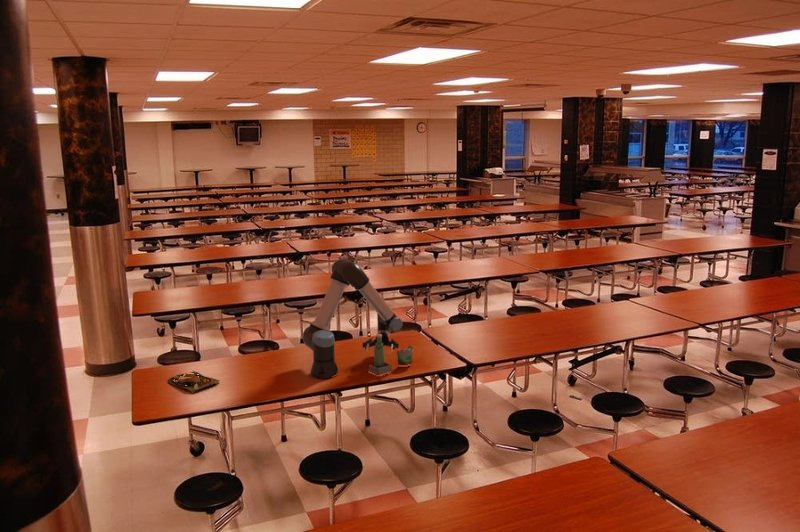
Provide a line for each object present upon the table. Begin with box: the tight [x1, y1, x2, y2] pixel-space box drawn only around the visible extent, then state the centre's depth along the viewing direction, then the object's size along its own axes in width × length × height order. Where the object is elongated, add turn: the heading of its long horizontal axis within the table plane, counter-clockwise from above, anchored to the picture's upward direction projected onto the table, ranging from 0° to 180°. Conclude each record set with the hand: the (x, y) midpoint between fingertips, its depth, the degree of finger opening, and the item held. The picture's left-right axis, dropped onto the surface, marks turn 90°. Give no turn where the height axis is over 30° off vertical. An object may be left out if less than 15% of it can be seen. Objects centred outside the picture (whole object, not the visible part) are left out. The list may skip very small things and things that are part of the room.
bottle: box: [373, 333, 385, 368], centre depth 339 cm, size 6×6×21 cm
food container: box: [396, 345, 415, 366], centre depth 351 cm, size 12×6×10 cm, turn 143°
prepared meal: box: [167, 370, 221, 395], centre depth 328 cm, size 28×4×18 cm
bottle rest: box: [368, 361, 393, 375], centre depth 341 cm, size 10×10×5 cm
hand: (379, 350), depth 338 cm, fingers open, 13 cm apart
